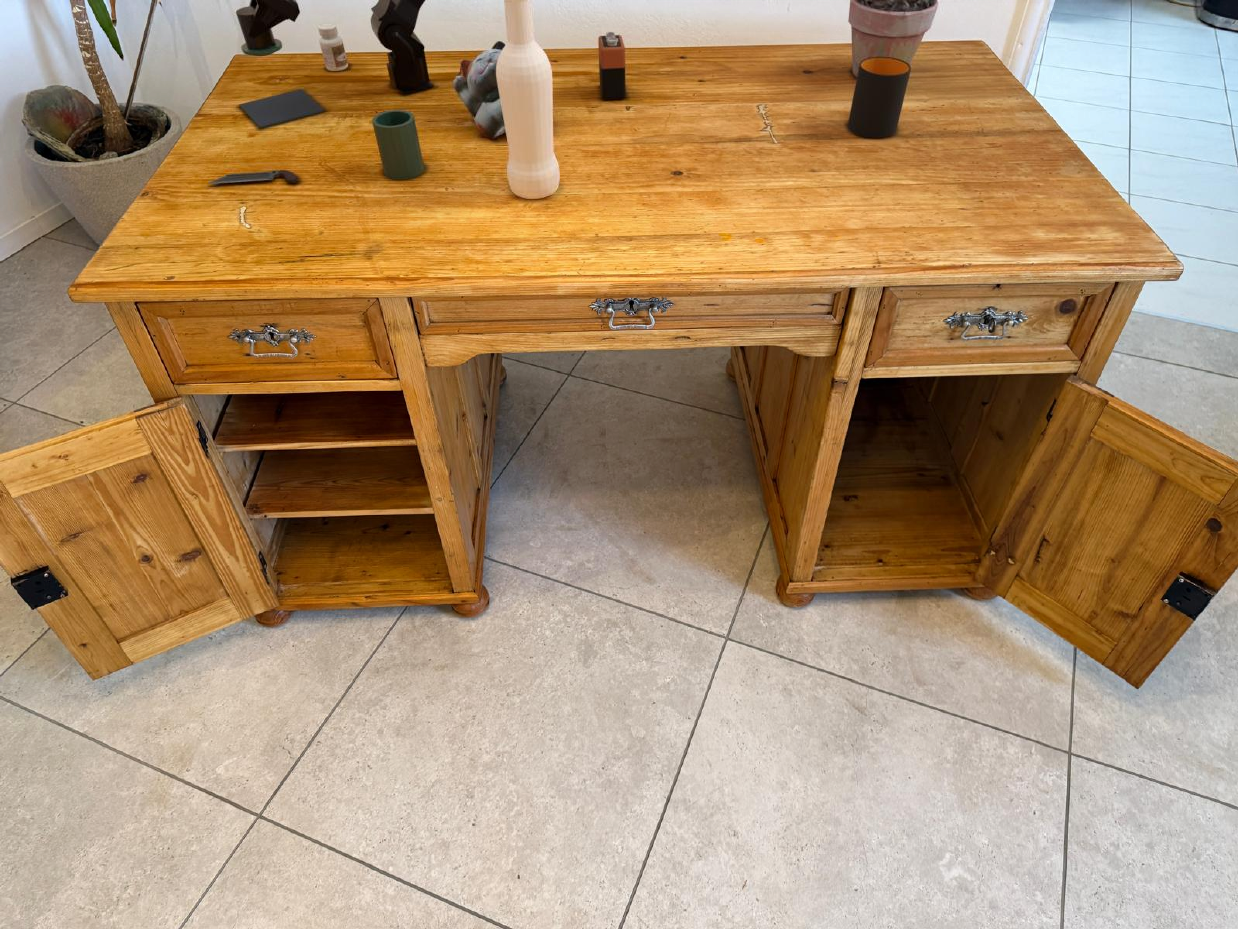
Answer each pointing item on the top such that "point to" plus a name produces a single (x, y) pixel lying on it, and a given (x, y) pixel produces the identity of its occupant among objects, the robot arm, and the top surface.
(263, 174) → the knife
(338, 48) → the pill bottle
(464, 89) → the lucky cat figurine
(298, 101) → the mat
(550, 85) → the bottle
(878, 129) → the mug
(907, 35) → the potted plant
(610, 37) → the battery
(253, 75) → the top surface
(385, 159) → the can
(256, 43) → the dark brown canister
